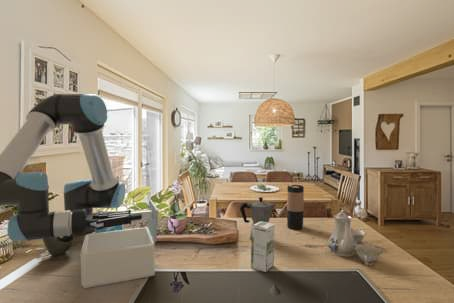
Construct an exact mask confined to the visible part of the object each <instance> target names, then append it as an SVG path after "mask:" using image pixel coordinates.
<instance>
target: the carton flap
mask: <svg viewBox="0 0 454 303" xmlns="http://www.w3.org/2000/svg"><path fill="white" fill-rule="evenodd" d="M148 210H151V211H152V219H150V220H147V226H146V227H147V228H148V230H149V232H150V235H151V237H152V239H153V242H154V243H157V237H158V236H157V234H158V222H159V221H158V220H159V208H157V206H156V204H155V203H154V202H153V200H152V199H149V201H148Z"/></svg>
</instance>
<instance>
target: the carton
mask: <svg viewBox="0 0 454 303" xmlns="http://www.w3.org/2000/svg"><path fill="white" fill-rule="evenodd" d="M155 246H156V245H155V242H154V240H153V238H152V236H151V234H150V231H149V229H148V227H147V226H145V227H137V228H129V229H127V228H126V229H122V230H119V231H110V232H102V233H95V232H94V233H86V234H84V239H83V243H82V247H81V250H80V279H81V280H80V283H81V287H83V289H89V288H94V287H99V286H106V285H110V284H116V283H117V284H118V283H120V282H128V281H133V280H137V279H142V278H149V277H154V276H156V264H155V262H156V259H155ZM148 276H149V277H148Z"/></svg>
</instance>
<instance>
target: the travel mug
mask: <svg viewBox="0 0 454 303" xmlns="http://www.w3.org/2000/svg"><path fill="white" fill-rule="evenodd" d="M304 187H305V186H304V185H301V184H292V185H287V188H286V189H287V192H286V195H287V196H286V203H287V204H286V208H287V209H286V220H287V222H286V223H287V224H286V226H287V229H288V230H293V231H301V230H302V229H303V228H304V213H305V212H304V209H305V207H304V206H305V204H304V201H305V200H304V199H305V197H304V196H305V195H304V194H305V193H304V190H305V189H304Z"/></svg>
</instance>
